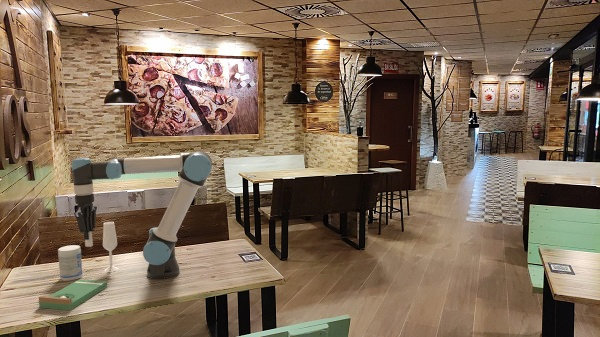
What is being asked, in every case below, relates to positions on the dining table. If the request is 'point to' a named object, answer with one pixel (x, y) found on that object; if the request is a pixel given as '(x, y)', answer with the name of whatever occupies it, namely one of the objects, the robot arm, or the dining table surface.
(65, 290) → the green game board
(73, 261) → the supplement tub
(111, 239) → the champagne flute
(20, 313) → the dining table surface
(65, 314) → the dining table surface
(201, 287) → the dining table surface
